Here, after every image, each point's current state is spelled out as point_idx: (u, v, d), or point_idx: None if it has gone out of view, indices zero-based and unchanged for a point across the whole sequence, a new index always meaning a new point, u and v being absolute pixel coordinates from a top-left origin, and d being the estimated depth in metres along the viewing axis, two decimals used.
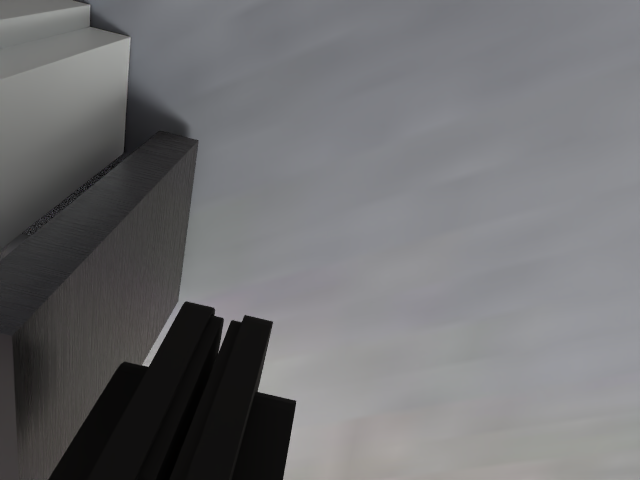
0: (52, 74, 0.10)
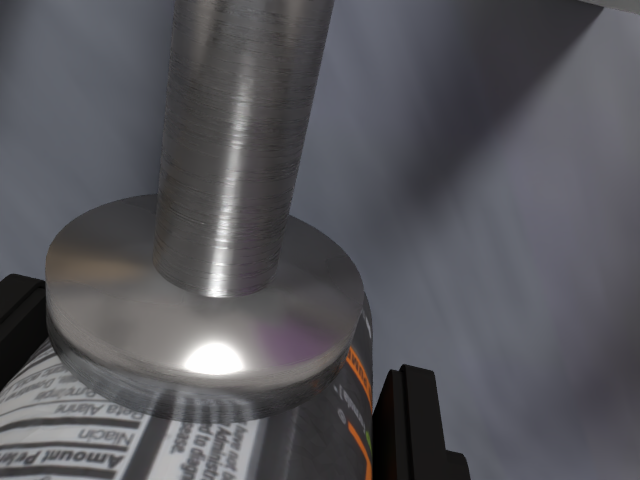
0: None
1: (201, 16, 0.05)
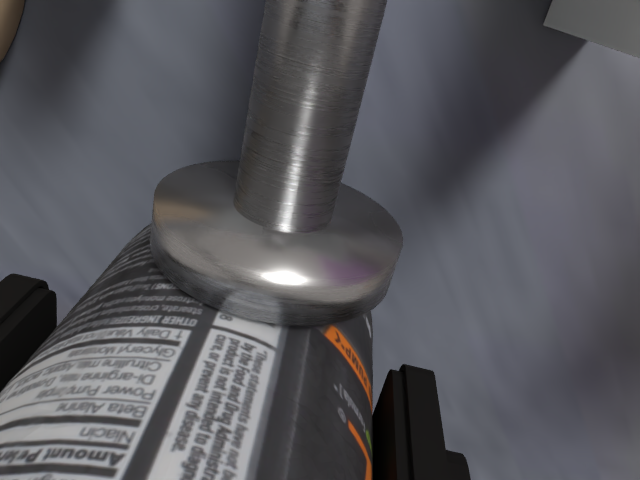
0: None
1: (291, 7, 0.07)
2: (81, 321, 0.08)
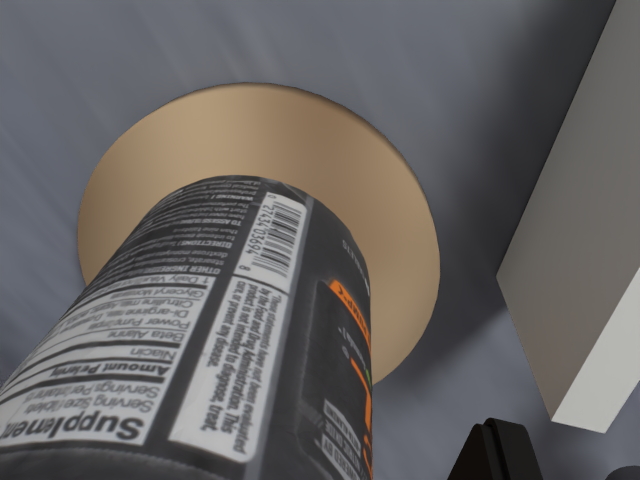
0: None
1: None
2: (117, 272, 0.09)
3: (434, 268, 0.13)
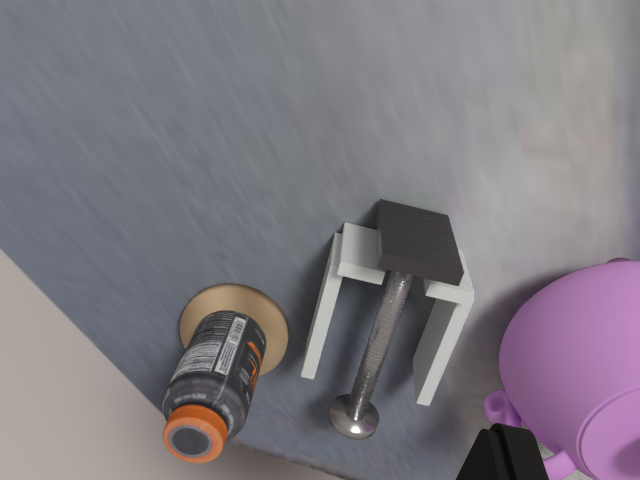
0: (345, 245, 0.38)
1: (359, 389, 0.42)
2: (200, 340, 0.41)
3: (285, 335, 0.45)
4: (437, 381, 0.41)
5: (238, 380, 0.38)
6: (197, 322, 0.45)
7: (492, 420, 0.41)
